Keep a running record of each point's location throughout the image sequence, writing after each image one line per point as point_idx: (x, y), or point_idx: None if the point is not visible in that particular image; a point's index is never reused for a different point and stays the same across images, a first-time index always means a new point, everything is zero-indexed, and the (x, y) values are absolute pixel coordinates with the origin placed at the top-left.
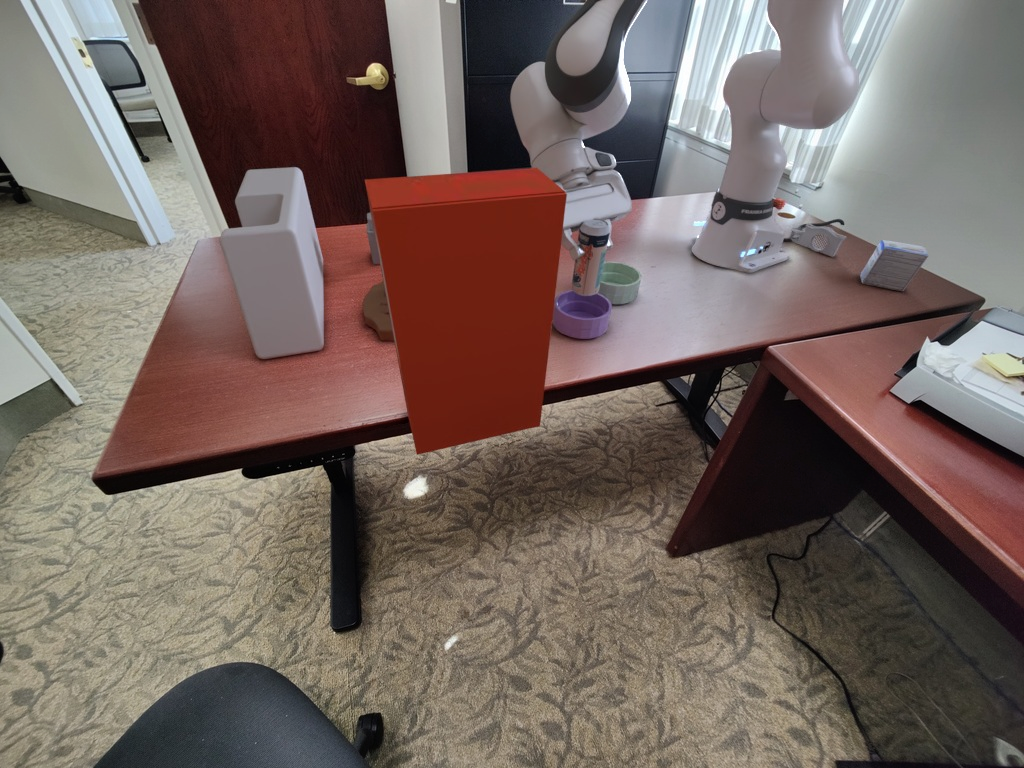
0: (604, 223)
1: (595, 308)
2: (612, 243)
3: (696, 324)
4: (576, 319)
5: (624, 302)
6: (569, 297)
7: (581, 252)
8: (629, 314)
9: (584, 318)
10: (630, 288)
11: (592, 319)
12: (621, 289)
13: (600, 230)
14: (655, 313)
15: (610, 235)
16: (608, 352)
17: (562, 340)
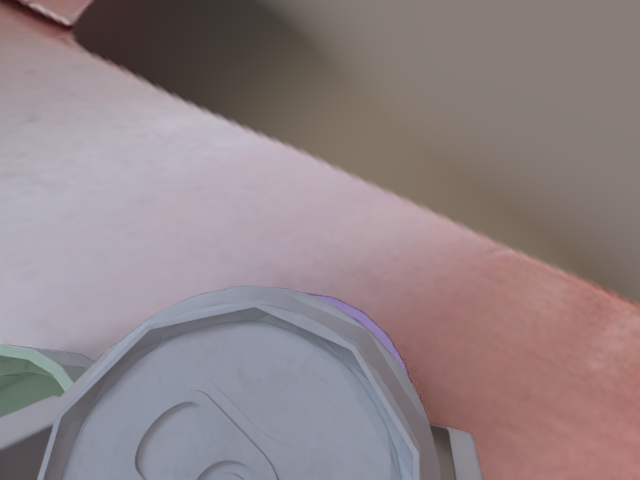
0: (119, 410)
1: None
2: (107, 351)
3: (71, 160)
4: (400, 357)
5: (92, 362)
6: None
7: (433, 434)
8: (138, 318)
9: (380, 336)
10: (48, 352)
11: (362, 312)
12: (77, 374)
13: (333, 328)
14: (82, 264)
15: (46, 399)
16: (356, 254)
17: (413, 385)
